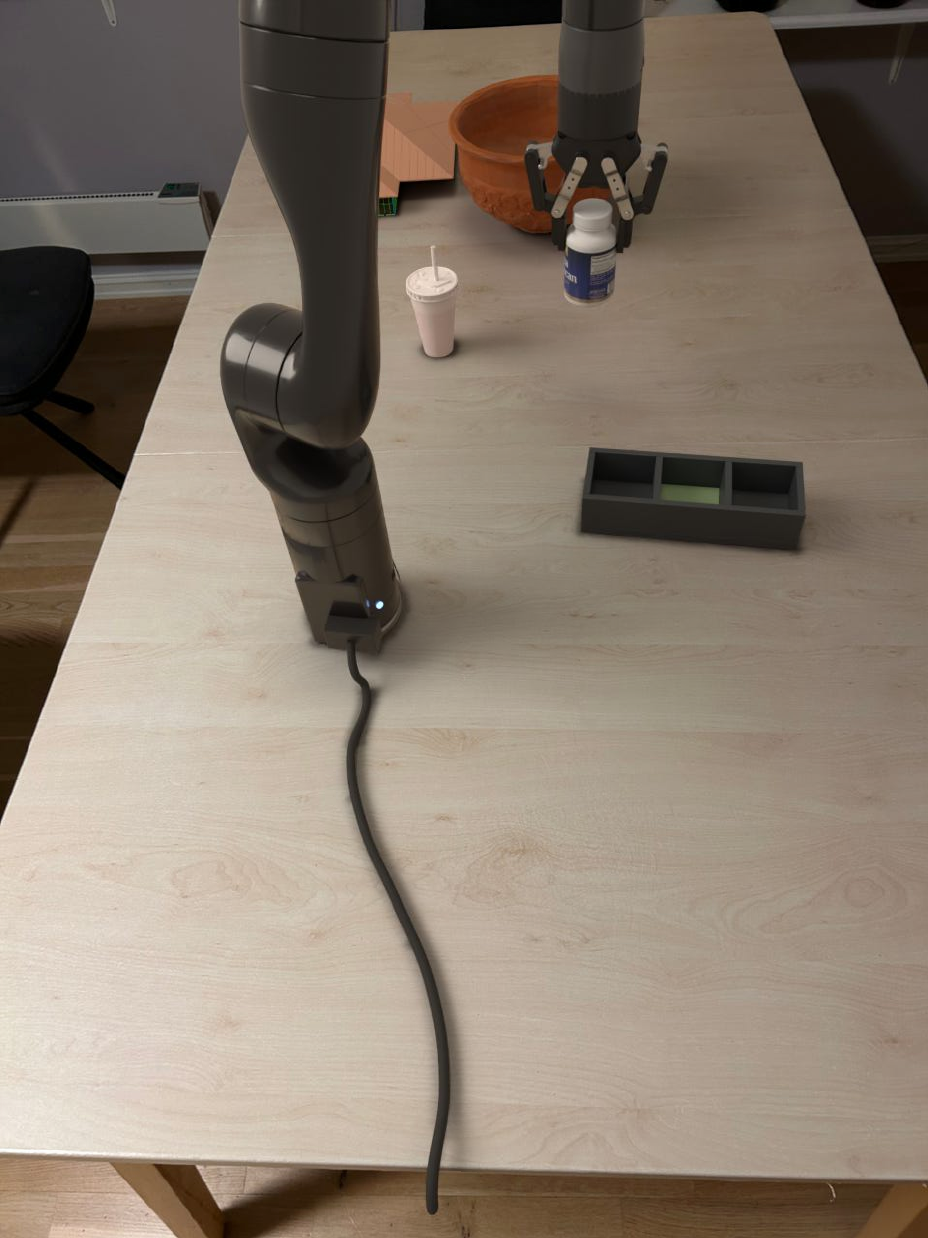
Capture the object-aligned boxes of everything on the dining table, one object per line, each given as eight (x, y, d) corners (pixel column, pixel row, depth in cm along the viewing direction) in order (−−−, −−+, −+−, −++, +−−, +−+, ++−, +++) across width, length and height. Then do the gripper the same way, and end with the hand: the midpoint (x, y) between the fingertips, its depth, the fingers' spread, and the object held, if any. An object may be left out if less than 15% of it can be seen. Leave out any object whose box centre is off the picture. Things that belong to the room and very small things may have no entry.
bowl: (658, 236, 132) (669, 127, 120) (495, 283, 127) (490, 174, 115) (580, 162, 146) (583, 58, 135) (432, 201, 142) (422, 98, 130)
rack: (795, 550, 94) (806, 515, 90) (580, 532, 98) (582, 498, 94) (792, 496, 99) (802, 461, 95) (587, 481, 103) (589, 446, 99)
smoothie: (458, 365, 117) (449, 263, 106) (408, 362, 118) (394, 260, 107) (468, 334, 120) (460, 232, 110) (420, 331, 122) (408, 230, 111)
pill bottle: (554, 289, 102) (555, 203, 94) (596, 275, 103) (601, 189, 96) (579, 314, 99) (583, 226, 91) (622, 299, 100) (630, 211, 93)
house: (459, 113, 159) (455, 61, 153) (454, 214, 139) (450, 159, 133) (327, 121, 161) (318, 70, 155) (302, 222, 141) (291, 168, 134)
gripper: (515, 89, 82) (517, 265, 96) (680, 90, 80) (660, 270, 93) (525, 54, 87) (526, 227, 100) (682, 55, 85) (662, 231, 98)
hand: (591, 247), depth 97 cm, fingers closed on pill bottle, 5 cm apart
